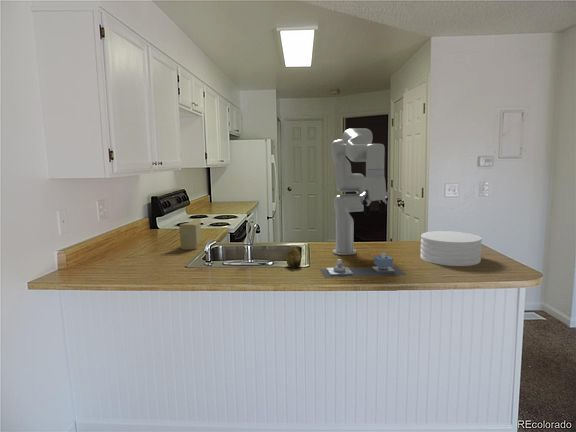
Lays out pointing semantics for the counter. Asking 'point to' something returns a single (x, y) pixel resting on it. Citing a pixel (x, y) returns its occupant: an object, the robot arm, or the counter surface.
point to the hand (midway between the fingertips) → (374, 214)
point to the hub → (339, 269)
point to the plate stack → (451, 248)
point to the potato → (293, 258)
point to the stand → (383, 269)
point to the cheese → (190, 235)
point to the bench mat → (364, 272)
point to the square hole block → (383, 261)
